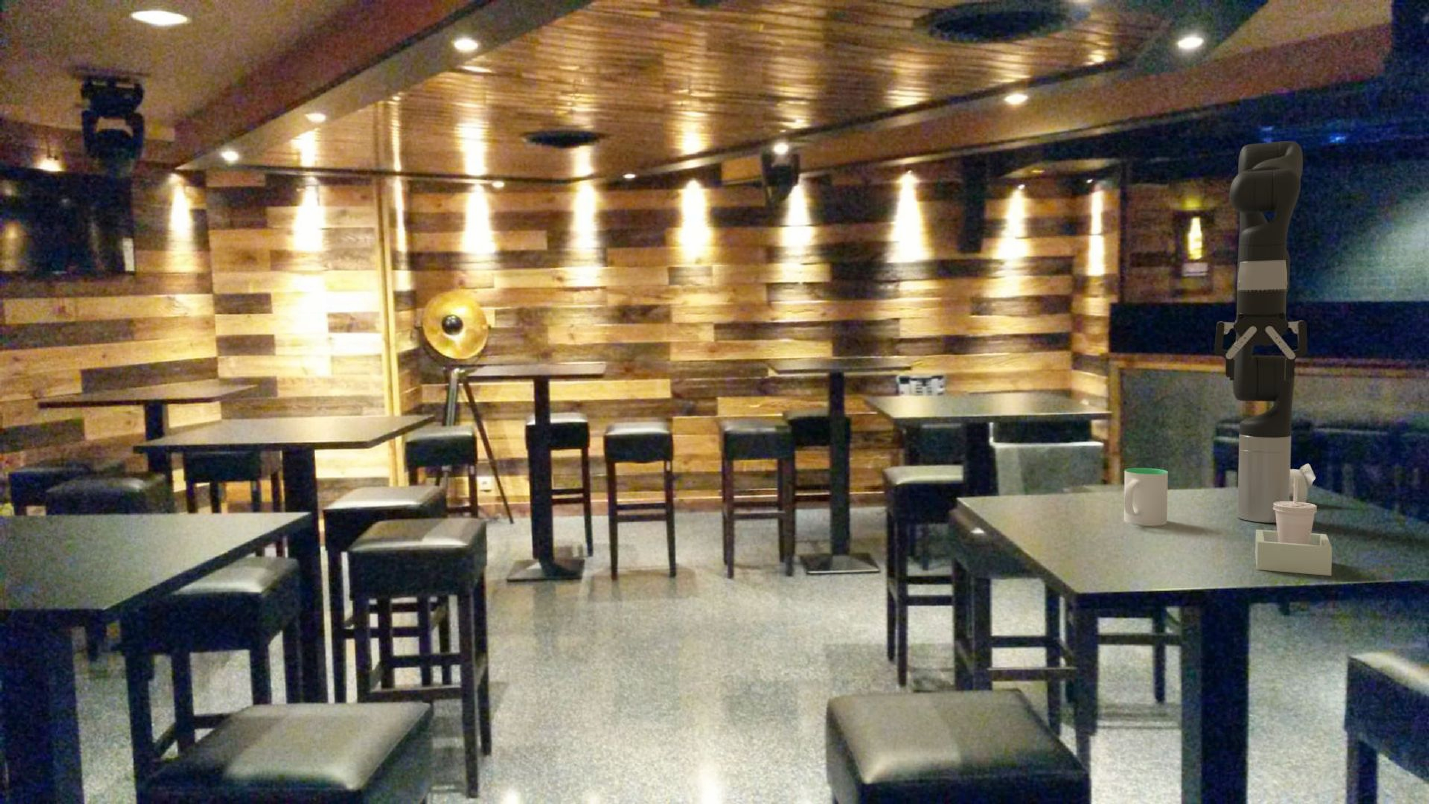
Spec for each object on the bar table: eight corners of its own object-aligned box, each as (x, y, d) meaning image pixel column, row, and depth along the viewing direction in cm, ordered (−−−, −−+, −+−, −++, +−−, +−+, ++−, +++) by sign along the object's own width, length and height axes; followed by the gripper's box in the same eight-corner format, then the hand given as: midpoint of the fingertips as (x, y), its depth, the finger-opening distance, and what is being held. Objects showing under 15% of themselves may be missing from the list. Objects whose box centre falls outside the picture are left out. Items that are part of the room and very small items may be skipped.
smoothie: (1316, 559, 170) (1319, 477, 169) (1314, 568, 165) (1317, 483, 163) (1272, 555, 173) (1275, 474, 172) (1269, 563, 168) (1272, 480, 167)
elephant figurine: (1296, 498, 228) (1297, 459, 227) (1320, 508, 216) (1321, 467, 215) (1251, 497, 229) (1252, 459, 228) (1272, 507, 217) (1273, 467, 216)
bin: (1255, 555, 176) (1255, 529, 176) (1325, 560, 171) (1326, 534, 171) (1257, 569, 167) (1257, 542, 166) (1331, 575, 162) (1332, 547, 162)
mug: (1149, 530, 197) (1150, 478, 196) (1109, 525, 203) (1109, 474, 202) (1173, 521, 206) (1174, 470, 205) (1133, 516, 211) (1134, 466, 210)
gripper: (1307, 286, 176) (1304, 379, 177) (1215, 288, 182) (1213, 378, 184) (1311, 286, 169) (1307, 383, 171) (1216, 288, 175) (1213, 381, 177)
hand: (1258, 380), depth 177 cm, fingers open, 8 cm apart
